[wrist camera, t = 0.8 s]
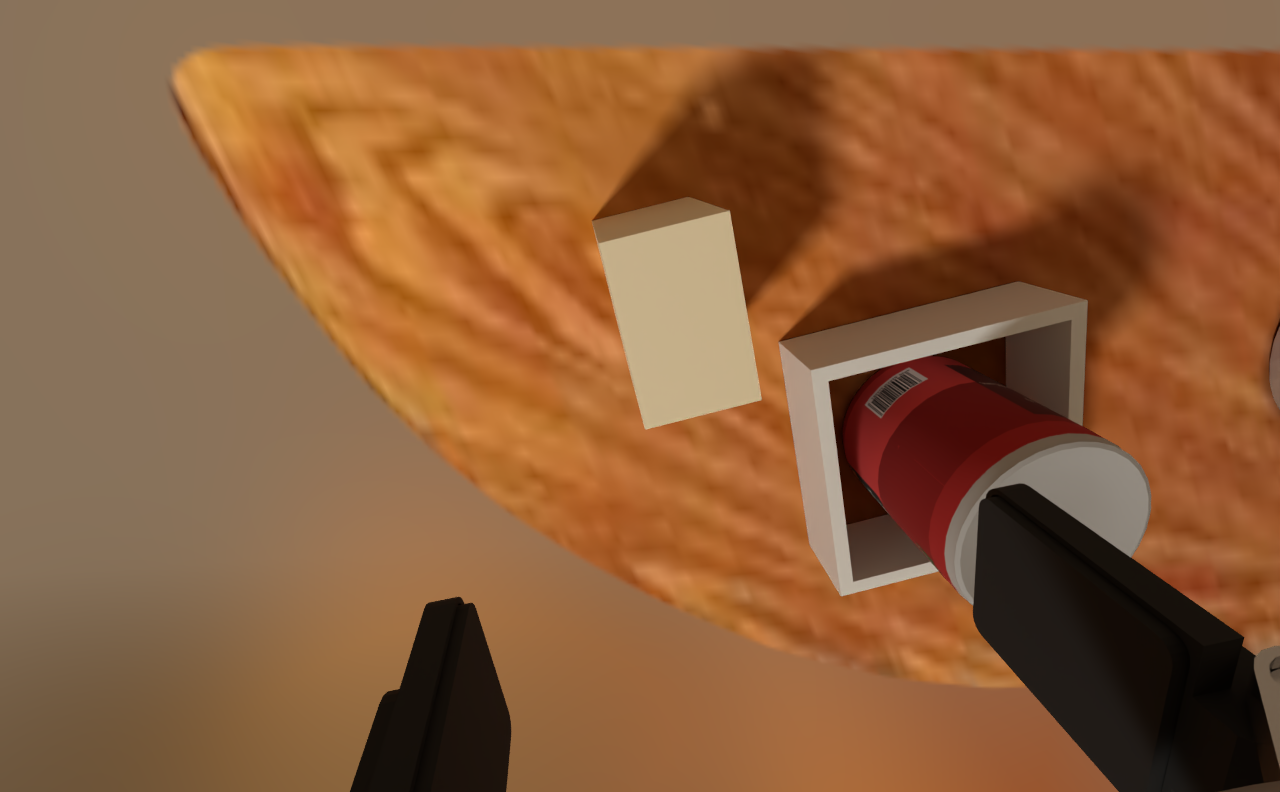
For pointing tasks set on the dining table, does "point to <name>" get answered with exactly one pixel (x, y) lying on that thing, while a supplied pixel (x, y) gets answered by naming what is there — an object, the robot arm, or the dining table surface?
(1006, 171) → the dining table surface
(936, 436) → the canned food
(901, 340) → the box
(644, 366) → the plain beige cuboid
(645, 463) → the dining table surface
